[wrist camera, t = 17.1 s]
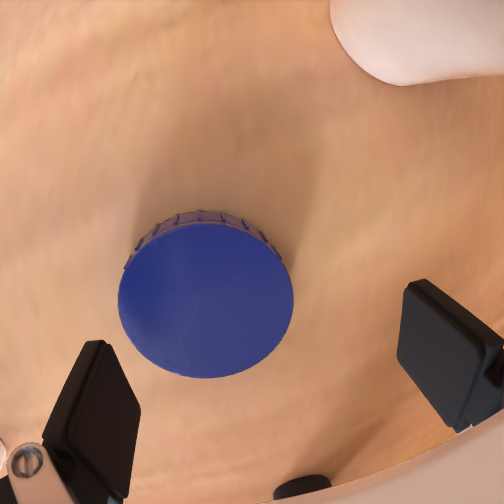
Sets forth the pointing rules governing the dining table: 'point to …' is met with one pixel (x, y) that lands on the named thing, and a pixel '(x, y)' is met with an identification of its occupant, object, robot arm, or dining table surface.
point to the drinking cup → (301, 487)
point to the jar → (422, 38)
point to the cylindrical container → (2, 454)
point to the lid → (205, 295)
